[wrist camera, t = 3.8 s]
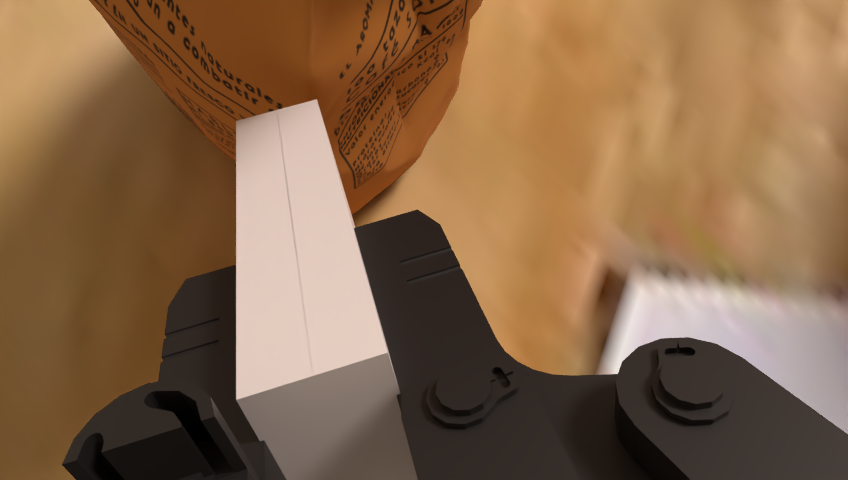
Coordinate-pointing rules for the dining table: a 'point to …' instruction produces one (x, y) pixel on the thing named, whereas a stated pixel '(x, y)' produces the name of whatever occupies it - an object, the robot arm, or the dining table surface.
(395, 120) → the coffee package
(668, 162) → the dining table surface
